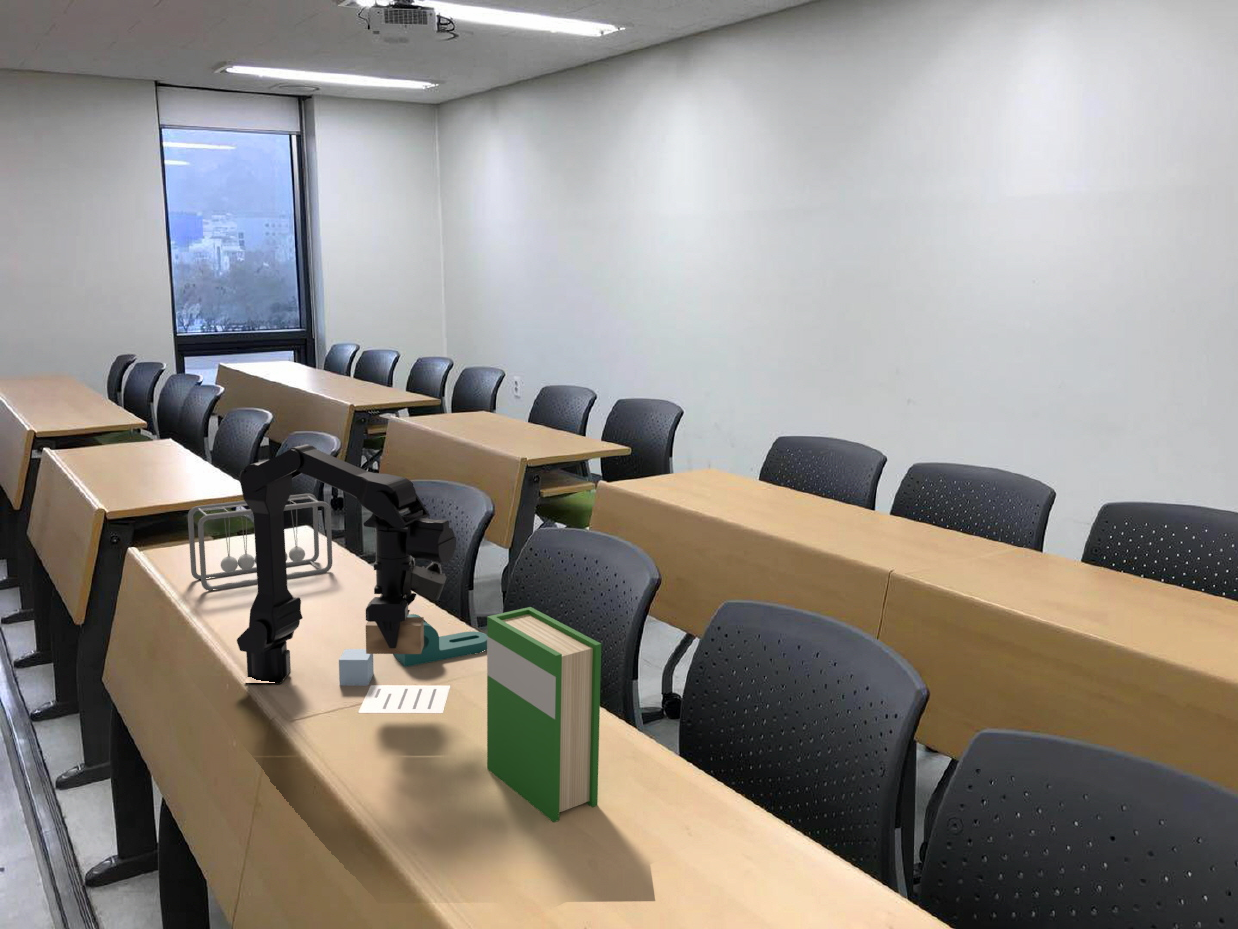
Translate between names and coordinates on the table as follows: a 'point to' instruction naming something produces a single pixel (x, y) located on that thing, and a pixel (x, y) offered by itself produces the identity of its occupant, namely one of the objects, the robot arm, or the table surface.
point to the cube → (355, 667)
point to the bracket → (444, 646)
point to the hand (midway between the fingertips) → (394, 643)
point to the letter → (405, 699)
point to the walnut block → (407, 638)
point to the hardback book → (543, 710)
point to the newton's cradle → (246, 560)
